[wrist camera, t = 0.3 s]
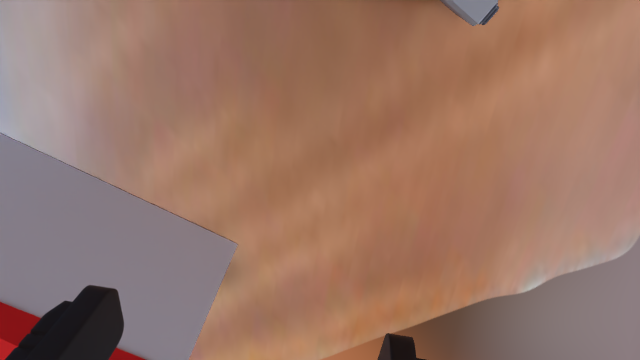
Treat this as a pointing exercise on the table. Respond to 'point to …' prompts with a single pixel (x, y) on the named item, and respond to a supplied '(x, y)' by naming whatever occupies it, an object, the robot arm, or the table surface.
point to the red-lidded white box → (101, 256)
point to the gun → (473, 10)
